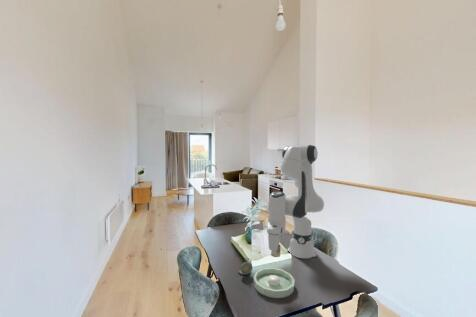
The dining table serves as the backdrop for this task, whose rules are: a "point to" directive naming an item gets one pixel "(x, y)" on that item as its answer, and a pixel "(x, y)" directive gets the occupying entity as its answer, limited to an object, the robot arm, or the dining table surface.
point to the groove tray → (274, 290)
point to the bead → (277, 252)
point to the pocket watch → (245, 268)
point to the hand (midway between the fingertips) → (275, 251)
